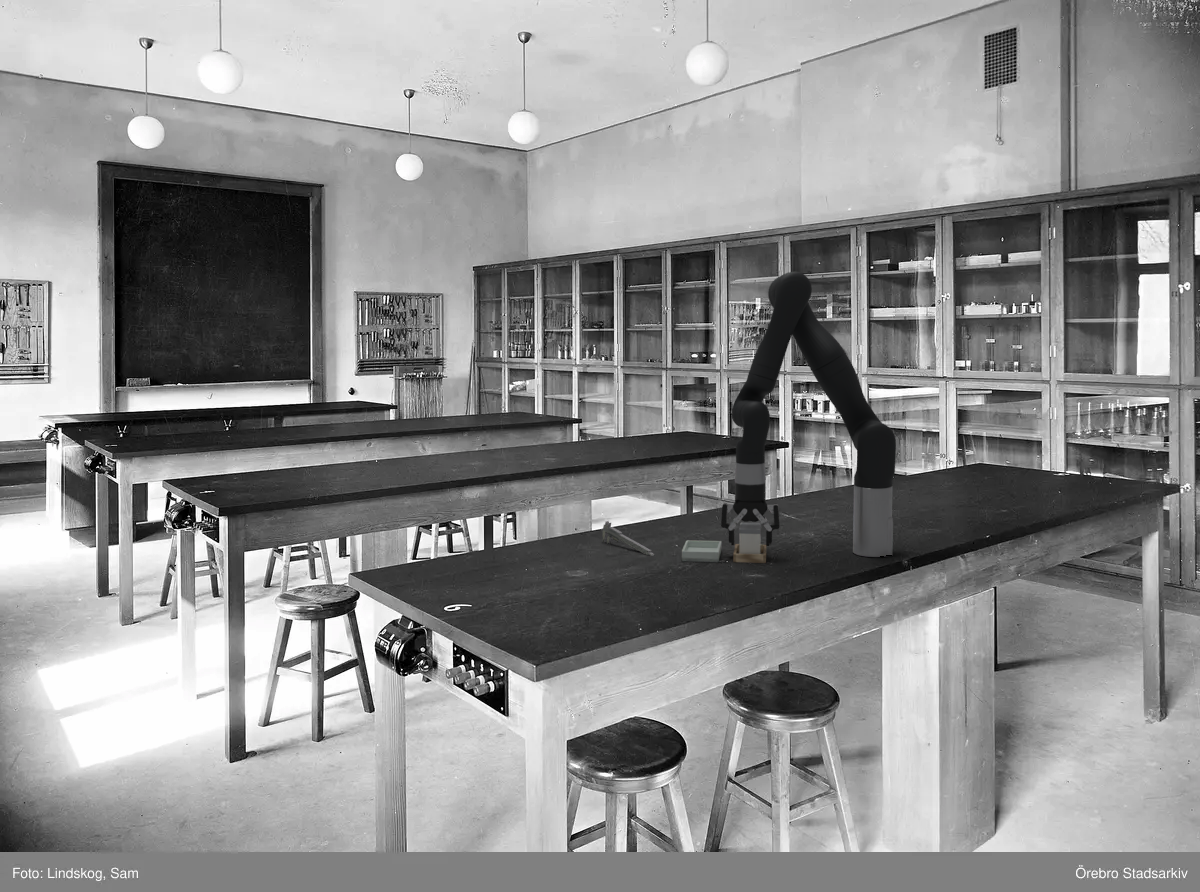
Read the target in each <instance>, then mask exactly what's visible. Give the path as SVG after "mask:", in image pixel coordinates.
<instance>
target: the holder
mask: <svg viewBox="0 0 1200 892" xmlns="http://www.w3.org/2000/svg"><path fill="white" fill-rule="evenodd" d="M733 549H734V550H733V555H732V556H733V557H732V559H733V563H750V564H752V563H753V564H766V563H767V546H766V544H761V554H739V543H735V544H734V548H733Z"/></svg>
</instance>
